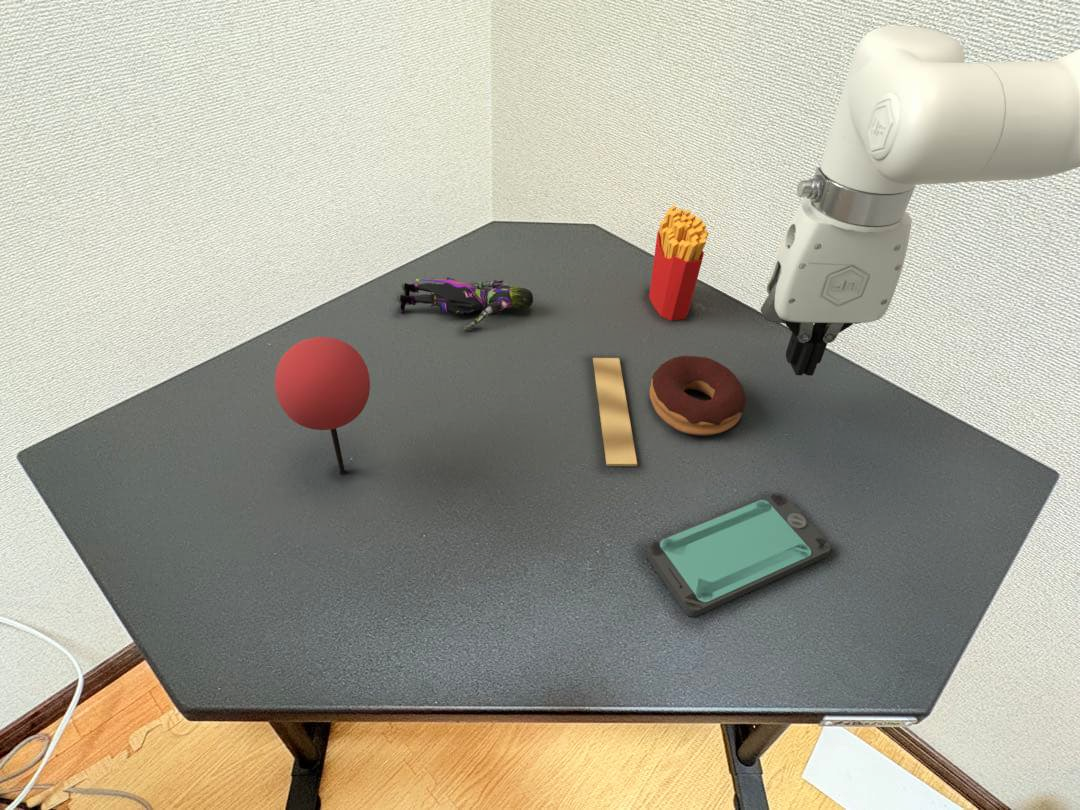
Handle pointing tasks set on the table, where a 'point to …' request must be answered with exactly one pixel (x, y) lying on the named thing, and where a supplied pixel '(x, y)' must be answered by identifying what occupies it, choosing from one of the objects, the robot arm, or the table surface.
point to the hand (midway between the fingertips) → (799, 366)
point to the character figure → (466, 297)
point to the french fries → (677, 263)
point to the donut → (694, 412)
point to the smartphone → (736, 553)
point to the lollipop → (323, 385)
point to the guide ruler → (614, 413)
